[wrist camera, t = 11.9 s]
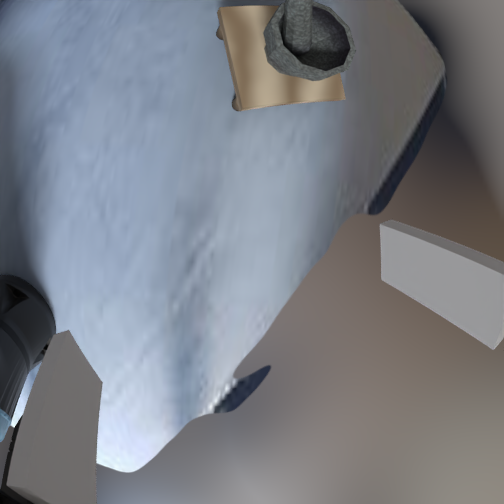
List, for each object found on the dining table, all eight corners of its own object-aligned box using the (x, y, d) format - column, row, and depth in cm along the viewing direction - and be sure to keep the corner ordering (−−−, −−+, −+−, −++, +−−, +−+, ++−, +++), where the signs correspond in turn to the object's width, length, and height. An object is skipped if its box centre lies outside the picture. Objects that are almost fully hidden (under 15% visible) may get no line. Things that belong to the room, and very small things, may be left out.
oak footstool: (230, 116, 34) (243, 109, 29) (210, 26, 29) (219, 7, 24) (322, 104, 37) (345, 99, 32) (302, 23, 32) (321, 9, 27)
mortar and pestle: (336, 62, 30) (399, 39, 19) (293, 104, 30) (355, 85, 19) (275, 3, 25) (322, -43, 14) (224, 41, 26) (258, -10, 15)
